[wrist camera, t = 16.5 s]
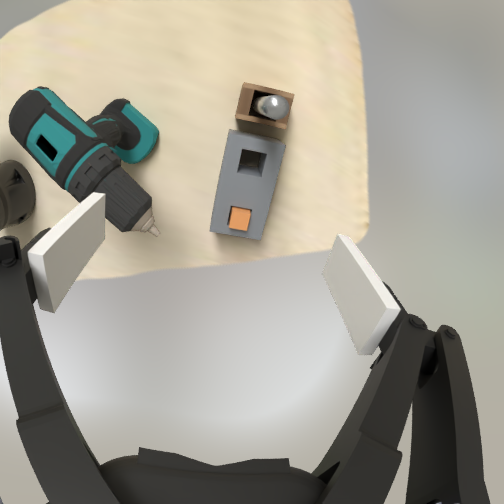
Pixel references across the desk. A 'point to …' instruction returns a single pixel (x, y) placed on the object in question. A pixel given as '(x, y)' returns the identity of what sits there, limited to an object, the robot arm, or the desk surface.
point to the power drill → (89, 152)
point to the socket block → (246, 183)
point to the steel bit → (272, 106)
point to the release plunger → (239, 218)
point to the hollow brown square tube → (246, 101)
